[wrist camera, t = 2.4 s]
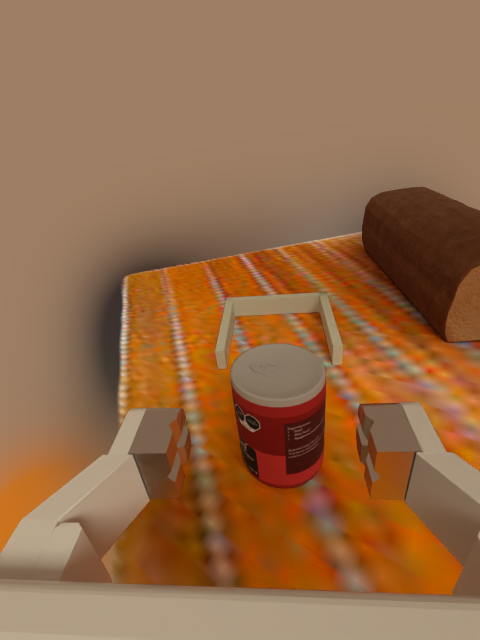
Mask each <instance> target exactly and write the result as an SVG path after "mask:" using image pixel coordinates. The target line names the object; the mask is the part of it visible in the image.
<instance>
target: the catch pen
mask: <svg viewBox="0 0 480 640" xmlns="http://www.w3.org/2000/svg"><path fill="white" fill-rule="evenodd" d="M310 312H320V316H321V320H322V325H323V329H324V333H325V337H326V341H327V345H328V349H329V353H330V357H331V361H332V365H342V354H343V344H342V341H341V338H340V335H339V331H338V328H337V325H336V322H335V319H334V315H333V312H332V309H331V306H330V302H329V299H328V296H327V293H326V292H318V293H301V294H284V295H266V296H249V297H232V298H227V299H226V304H225V308H224V313H223V317H222V322H221V326H220V331H219V335H218V340H217V344H216V349H215V354H216V360H217V366H218V369H227V364H228V358H229V352H230V346H231V340H232V333H233V327H234V321H235V316H253V315H272V314H291V313H310Z"/></svg>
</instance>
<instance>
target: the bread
mask: <svg viewBox="0 0 480 640" xmlns="http://www.w3.org/2000/svg"><path fill="white" fill-rule="evenodd" d="M362 240H363V245H364V248H365V250H366V251H367V252H368V253H369V255H370V256H371V257H372V258H373V259H374V260H375V261H376V263H377V264H378V265H379V266H380V267H381V268H382V270H383V271H384V272H385V273H386V274H387V275H388V277H389V278H390V279H391V280H392V281H393V282H394V283H395V284H396V285H397V287H398V288H399V289H400V290H401V292H402V293H403V294H404V295H405V296H406V297H407V299H408V300H409V301H410V302H411V303H412V304H413V305H414V306H415V307H416V309H417V310H418V311H419V312H420V313H421V314H422V315H423V316H424V318H425V319H426V320H427V321H428V323H429V324H430V325H431V326H432V327H433V328H434V330H435V331H436V332H437V333H438V334H439V335H440V336H441V337H442V338H443V339H444V341H445V342H461V341H473V340H480V211H479V210H477V209H473V208H471V207H468V206H466V205H464V204H463V203H460V202H458V201H456V200H453V199H451V198H448V197H446V196H444V195H442V194H440V193H437V192H435V191H432V190H430V189H428V188H425V187H412V188H404V189H398V190H392V191H387V192H382V193H380V194H378V195H376V196H374V197H372V198H371V200H370V201H369V203H368V204H367V206H366V208H365V214H364V220H363V226H362Z"/></svg>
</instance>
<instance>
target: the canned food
mask: <svg viewBox="0 0 480 640" xmlns="http://www.w3.org/2000/svg"><path fill="white" fill-rule="evenodd" d="M231 385H232V393H233V400H234V406H235V413H236V419H237V426H238V432H239V439H240V445H241V451H242V457H243V460H244V463H245V464H246V466H247V468H248V469H249V471H250V472H251V474H252V475H253V476H254V477H255V478H256V479H258V480H259V481H261V482H262V483H264V484H266V485H269V486H272V487H276V488H294V487H297V486H301V485H303V484H305V483H307V482H308V481H309V480H311V479H312V478H313V477H314V476H315V474H316V473H317V472H318V470H319V468H320V466H321V464H322V461H323V454H324V426H325V398H326V376H325V368H324V365H323V363H322V361H321V360H320V359H319V358H318V357H317V356H316V355H315V354H314V353H312V352H310V351H309V350H307V349H304V348H302V347H299V346H295V345H290V344H266V345H261V346H257V347H254V348H251V349H249V350H247V351H245V352H244V353H243V354H241V355H240V356H239V357H238V358H237V359H236V360H235V361H234V363H233V365H232V368H231Z"/></svg>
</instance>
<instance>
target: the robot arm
mask: <svg viewBox="0 0 480 640" xmlns="http://www.w3.org/2000/svg"><path fill="white" fill-rule="evenodd" d="M358 416H359V420H360V423H359V424H358V425H357V430H356V440H357V449H358V454H359V458H360V461H361V462H362V463H363V464H364V465H365V472H364V478H365V481H366V485H367V489H368V492H369V496H370V499H373V500H402V501H405V503H406V504H407V505H408V506H409V507H410V508H411V509H412V511H413V512H414V513H415V514H416V515H417V516H418V517H419V518H420V519H421V520H422V522H423V523H424V524H425V525H426V526H427V527H428V528H429V529H430V530H431V531H432V533H433V534H434V535H435V536H436V537H437V538H438V539H439V540H440V541H441V542H442V543H443V545H444V546H445V547H446V548H447V549H448V550H449V551H450V552H451V553H452V554H453V556H454V557H455V558H456V559H457V560H458V561H459V562H460V563H461V564H462V565H463V570H462V572H461V574H460V576H459V578H458V581H457V583H456V585H455V587H454V590H453V592H452V593H453V595H434V594H407V593H379V592H352V591H324V590H297V589H269V588H241V587H212V586H184V585H156V584H128V583H112V579H111V577H110V575H109V573H108V571H107V570H106V568H105V566H104V565H103V563H102V561H101V558H102V557H103V556H104V555H105V554H106V552H107V551H108V550H109V549H110V548H111V546H112V545H113V544H114V543H115V542H116V540H117V539H118V538H119V537H120V536H121V534H122V533H123V532H124V531H125V530H126V528H127V527H128V526H129V525H130V524H131V522H132V521H133V520H134V519H135V518H136V516H137V515H138V514H139V513H140V512H141V510H142V509H143V508H144V507H145V506H146V504H147V503H148V502H149V501H150V500H149V499H158V498H180V495H181V491H182V487H183V482H184V478H185V474H184V470H183V467H184V466H185V465H186V464H187V463H188V461H189V456H190V447H191V439H190V432H189V428H187V427H186V426H185V425H184V423H185V420H186V416H185V412H184V409H182V408H132V409H131V410H129V411H128V413H127V415H126V417H125V419H124V421H123V423H122V425H121V427H120V429H119V432H118V434H117V436H116V438H115V440H114V442H113V445H112V447H111V449H110V451H109V453H108V455H102V456H100V457H99V458H98V459H97V460H95V461H94V462H93V463H92V464H90V465H89V466H88V467H87V468H85V469H84V470H83V471H82V472H81V473H79V474H78V475H77V476H75V477H74V478H73V479H72V480H70V481H69V482H68V483H67V484H65V485H64V486H63V487H62V488H61V489H59V490H58V491H57V492H55V493H54V494H53V495H52V496H50V497H49V498H48V499H47V500H45V501H44V502H43V503H42V504H40V505H39V506H38V507H37V508H35V509H34V510H33V511H32V512H30V513H29V514H28V515H27V516H25V517H24V518H23V519H22V520H21V521H20V522H19V524H18V526H17V527H16V529H15V531H14V532H13V534H12V536H11V537H10V539H9V541H8V542H7V544H6V546H5V547H4V549H3V551H2V552H1V554H0V640H480V471H478V470H477V469H476V468H474V467H473V466H471V465H470V464H469V463H467V462H466V461H464V460H463V459H462V458H460V457H459V456H457V455H456V454H455V453H453V452H446V450H445V448H444V446H443V444H442V442H441V441H440V439H439V437H438V435H437V433H436V431H435V429H434V427H433V425H432V423H431V422H430V420H429V418H428V416H427V414H426V412H425V410H424V408H423V406H422V405H421V404H420V403H419V402H401V403H372V404H360V405H359V409H358Z"/></svg>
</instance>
